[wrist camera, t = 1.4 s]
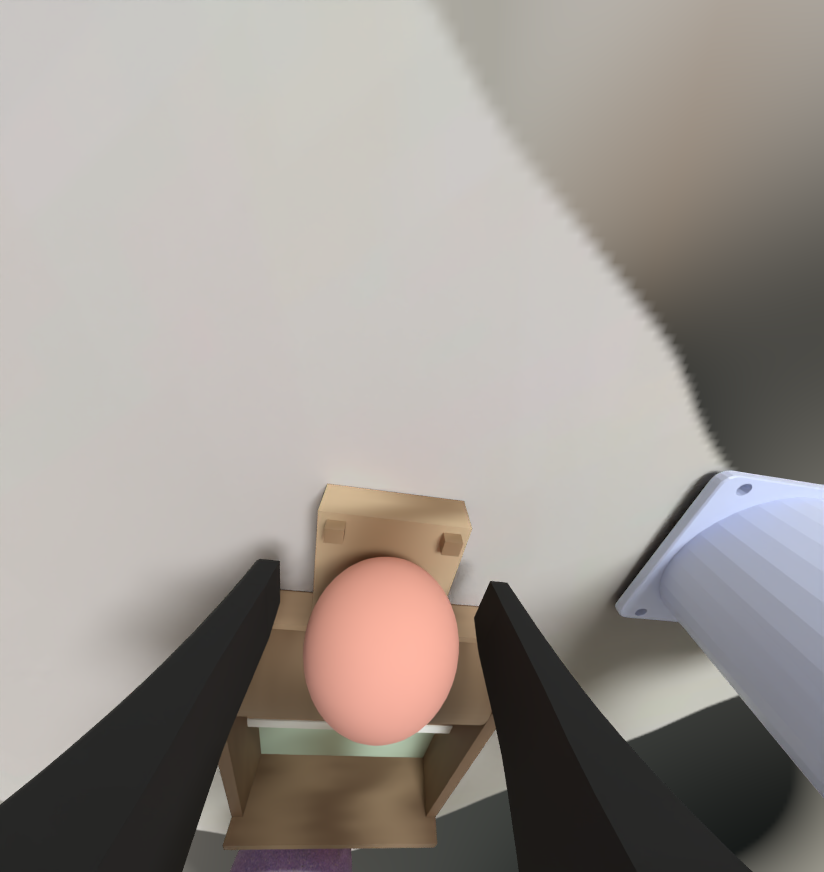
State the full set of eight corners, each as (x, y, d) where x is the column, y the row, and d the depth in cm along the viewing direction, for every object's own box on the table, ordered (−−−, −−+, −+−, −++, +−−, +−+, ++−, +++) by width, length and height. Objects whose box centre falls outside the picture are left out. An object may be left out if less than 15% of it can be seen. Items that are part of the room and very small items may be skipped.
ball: (461, 534, 10) (500, 696, 6) (432, 615, 12) (448, 777, 8) (326, 519, 9) (276, 685, 6) (320, 606, 11) (278, 774, 8)
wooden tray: (485, 557, 17) (536, 718, 11) (425, 702, 24) (434, 847, 18) (264, 534, 15) (173, 703, 9) (271, 695, 23) (223, 849, 17)
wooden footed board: (464, 501, 11) (474, 537, 10) (434, 588, 13) (439, 630, 12) (327, 483, 11) (314, 519, 9) (320, 578, 13) (309, 621, 11)
